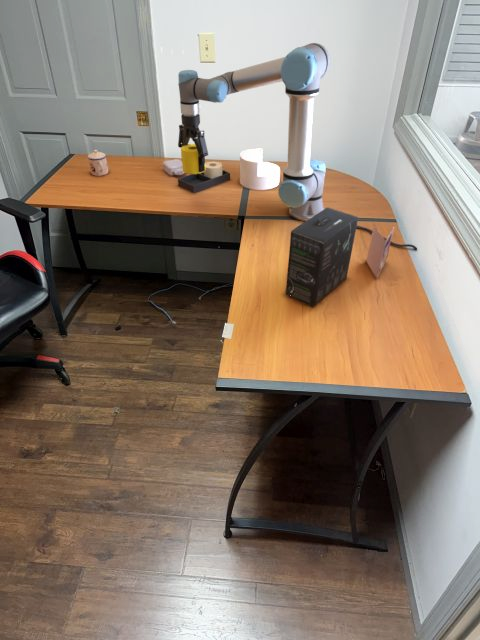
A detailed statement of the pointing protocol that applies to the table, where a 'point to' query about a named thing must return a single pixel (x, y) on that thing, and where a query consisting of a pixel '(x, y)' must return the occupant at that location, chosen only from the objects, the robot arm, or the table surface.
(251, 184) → the white notched cylinder
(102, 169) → the teacup with lid
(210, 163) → the paper roll
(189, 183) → the rack
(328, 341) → the table surface
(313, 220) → the headset box
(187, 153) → the tape roll
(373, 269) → the greeting card
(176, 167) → the charger
